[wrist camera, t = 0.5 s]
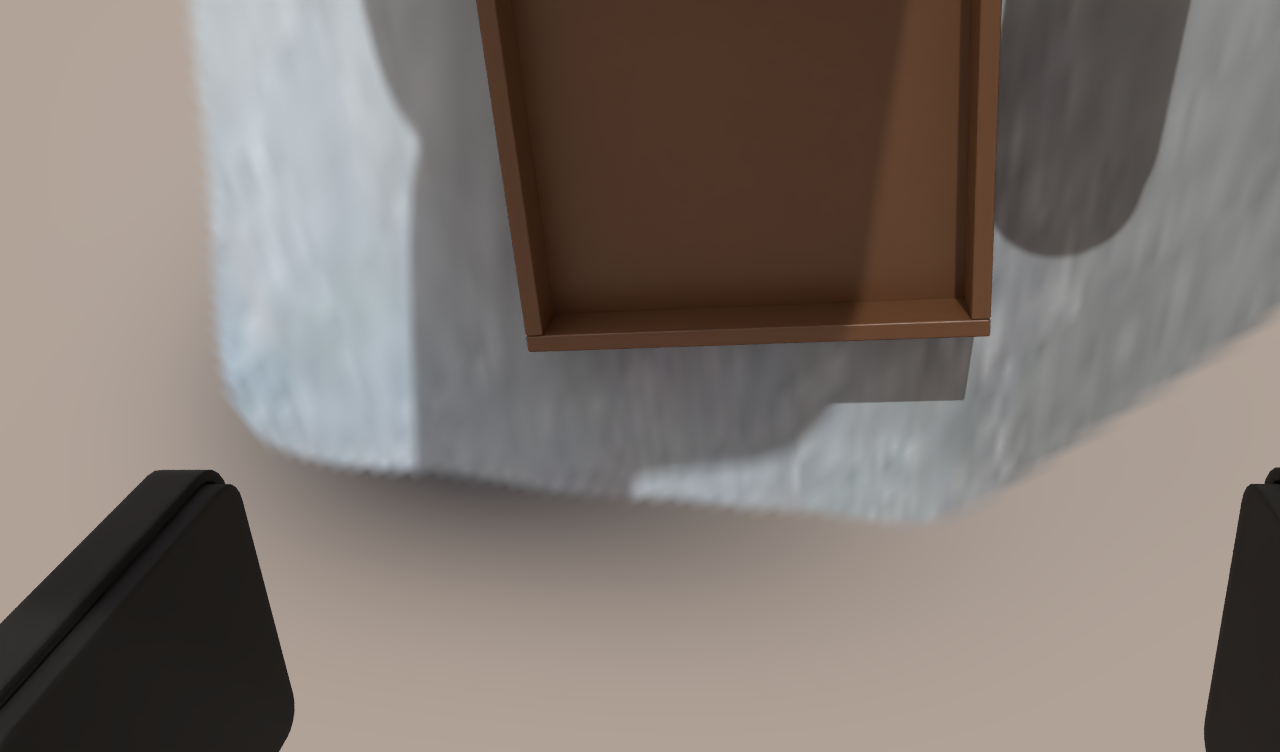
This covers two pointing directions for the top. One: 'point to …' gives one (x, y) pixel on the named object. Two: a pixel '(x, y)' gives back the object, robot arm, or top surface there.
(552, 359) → the top surface
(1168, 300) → the top surface
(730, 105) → the serving tray
